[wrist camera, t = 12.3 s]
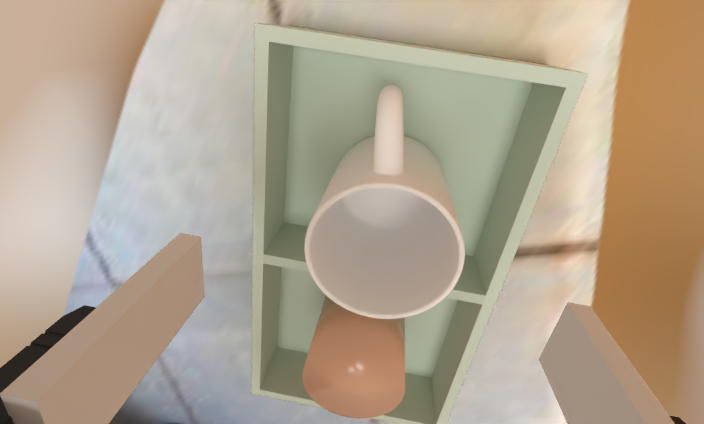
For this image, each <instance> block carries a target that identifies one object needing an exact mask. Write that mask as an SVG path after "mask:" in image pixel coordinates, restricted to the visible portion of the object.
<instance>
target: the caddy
mask: <svg viewBox="0 0 704 424" xmlns="http://www.w3.org/2000/svg"><path fill="white" fill-rule="evenodd" d="M587 76H588V74H587V73H583V72H578V71H573V70H569V69H564V68H559V67H555V66H550V65H544V64H538V63H531V62H524V61H518V60H511V59H505V58H498V57H491V56H485V55H478V54H472V53H465V52H458V51H452V50H445V49H438V48H432V47H425V46H419V45H412V44H405V43H399V42H392V41H386V40H379V39H372V38H366V37H359V36H352V35H346V34H339V33H333V32H326V31H319V30H313V29H306V28H300V27H293V26H286V25H273V24H259V23H255V48H254V156H253V264H252V372H251V394H256V395H260V396H265V397H270V398H275V399H280V400H284V401H289V402H294V403H299V404H304V405H308V406H313V407H318V408H323V407H321V406H320V405H319V404H317V403H316V402H315V401H314V400H313V399H312V398H311V397H310V396H309V394H308V393H307V391H306V389H305V387H304V385H303V380H302V373H303V369H304V365H305V362H306V359H307V355H308V352H309V349H310V345H311V342H312V338H313V335H314V332H315V328H316V325H317V322H318V318H319V315H320V312H321V308H322V305H323V302H324V298H325V296H326V295H325V294H324V293H323V292H322V291H321V289H320V288H319V287H318V286H317V284H316V283H315V281H314V280H313V278H312V276H311V274H310V272H309V269H308V266H307V263H306V259H305V252H304V245H305V237H306V232H307V229H308V226H309V224H310V222H311V220H312V218H313V216H314V213H315V211H316V209H317V207H318V205H319V203H320V201H321V199H322V197H323V195H324V193H325V191H326V189H327V187H328V185H329V183H330V181H331V179H332V177H333V175H334V173H335V171H336V169H337V167H338V165H339V163H340V161H341V160H342V158H343V157H344V156H345V154H346V153H347V152H348V151H349V150H350V149H351V148H352V147H354V146H355V145H356V144H358V143H359V142H361V141H363V140H365V139H367V138H369V137H372V136H375V124H376V112H377V104H378V98H379V94H380V92H381V90H382V89H383V88H384V87H386V86H388V85H395V86H397V87H399V88H400V89H401V91H402V94H403V122H404V136H407V137H409V138H412V139H414V140H416V141H418V142H420V143H421V144H423V145H424V146H425V147H427V148H428V149H429V150H430V151H431V152H432V153H433V155H434V156H435V157H436V159H437V160H438V162H439V164H440V166H441V168H442V170H443V173H444V176H445V179H446V182H447V186H448V189H449V192H450V196H451V199H452V202H453V206H454V209H455V213H456V216H457V219H458V223H459V226H460V229H461V233H462V236H463V241H464V246H465V259H464V266H463V269H462V273H461V275H460V277H459V280H458V282H457V283H456V285H455V286H454V288H453V289H452V291H451V292H450V293H449V294H448V295H447V296H446V297H445V298H444V299H443V300H442V301H441V302H439V303H438V304H436V305H435V306H434V307H432V308H430V309H428V310H426V311H424V312H422V313H419V314H416V315H413V316H409V317H405V394H404V397H403V399H402V401H401V402H400V404H399V405H398V406H397V407H396V408H394V409H393V410H392V411H390V412H388V413H386V414H384V415H381V416H378V417H373V418H371V419H376V420H380V421H385V422H390V423H395V424H446V423H447V421H448V418H449V416H450V414H451V411H452V409H453V406H454V404H455V401H456V399H457V396H458V394H459V391H460V389H461V386H462V384H463V381H464V379H465V377H466V374H467V372H468V369H469V367H470V364H471V362H472V359H473V357H474V354H475V352H476V349H477V347H478V345H479V342H480V340H481V337H482V335H483V332H484V330H485V327H486V325H487V322H488V320H489V317H490V315H491V312H492V310H493V308H494V305H495V303H496V300H497V298H498V295H499V293H500V290H501V288H502V285H503V283H504V280H505V278H506V275H507V273H508V271H509V268H510V266H511V263H512V261H513V258H514V256H515V253H516V251H517V248H518V246H519V243H520V241H521V238H522V236H523V234H524V231H525V229H526V226H527V224H528V221H529V219H530V216H531V214H532V211H533V209H534V206H535V204H536V202H537V199H538V197H539V194H540V192H541V189H542V187H543V184H544V182H545V179H546V177H547V174H548V172H549V169H550V167H551V165H552V162H553V160H554V157H555V155H556V152H557V150H558V147H559V145H560V142H561V140H562V137H563V135H564V132H565V130H566V128H567V125H568V123H569V120H570V118H571V115H572V113H573V110H574V108H575V105H576V103H577V100H578V98H579V96H580V93H581V91H582V88H583V86H584V83H585V81H586V78H587ZM323 409H325V408H323Z"/></svg>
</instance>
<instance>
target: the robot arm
mask: <svg viewBox="0 0 704 424" xmlns="http://www.w3.org/2000/svg"><path fill="white" fill-rule="evenodd" d="M203 298H204V283H203V266H202V249H201V237H199V236H194V235H188V234H182V233H180V234H179V235H178V236H177V237H175V238H174V239H173V240H172V241H171V242H170V243H169V244H168V245H166V246H165V247H164V248H163V249H162V250H161V251H160V252H159V253H157V254H156V255H155V256H154V257H153V258H152V259H151V260H150V261H148V262H147V263H146V264H145V265H144V266H143V267H142V268H141V269H139V270H138V271H137V272H136V273H135V274H134V275H133V276H132V277H130V278H129V279H128V280H127V281H126V282H125V283H124V284H123V285H121V286H120V287H119V288H118V289H117V290H116V291H115V292H114V293H112V294H111V295H110V296H109V297H108V298H107V299H106V300H105V301H103V302H102V303H101V304H100V305H99V306H98V307H97V308H95V307H90V306H82V307H80V308H79V309H77V310H75V311H73V312H71V313H69V314H67V315H65V316H63V317H62V318H60V319H59V320H58V321H57V322H55V324H53V325H52V326H51V327H50V328H48V329H47V330H46V332H45V333H44V334H41V335H40V336H39V337H37V338H36V339H35V340H34V341H32V342H31V345H30V346H26V347H25V348H24V349H23V350H22V351H20V352H19V353H18V354H17V355H16V356H14V357H13V358H12V359H11V360H9V361H8V362H7V363H6V364H5V365H3V366H2V367H1V368H0V424H109V423H110V421H111V420H112V419H113V417H114V416H115V415H116V413H117V412H118V411H119V409H120V408H121V407H122V405H123V404H124V403H125V401H126V400H127V399H128V397H129V396H130V395H131V393H132V392H133V391H134V389H135V388H136V387H137V385H138V384H139V383H140V381H141V380H142V379H143V377H144V376H145V375H146V373H147V372H148V371H149V369H150V368H151V367H152V365H153V364H154V363H155V361H156V360H157V359H158V357H159V356H160V355H161V353H162V352H163V351H164V350H165V348H166V347H167V346H168V344H169V343H170V342H171V340H172V339H173V338H174V336H175V335H176V334H177V332H178V331H179V330H180V328H181V327H182V326H183V324H184V323H185V322H186V320H187V319H188V318H189V316H190V315H191V314H192V312H193V311H194V310H195V308H196V307H197V306H198V304H199V303H200V302H201V300H202V299H203ZM539 360H540V362H541V365H542V367H543V369H544V372H545V374H546V376H547V378H548V381H549V383H550V385H551V387H552V390H553V392H554V394H555V396H556V399H557V401H558V403H559V405H560V408H561V410H562V412H563V414H564V417H565V419H566V421H567V423H568V424H686V423H685V422H683V421H682V420H681V419H680V418H679V417H674V416H669V415H668V413H667V412H666V411H665V409H664V408H663V407H662V405H661V404H660V402H659V401H658V400H657V398H656V397H655V395H654V394H653V393H652V392H651V390H650V389H649V387H648V386H647V385H646V383H645V382H644V380H643V379H642V377H641V376H640V375H639V373H638V372H637V371H636V369H635V368H634V366H633V365H632V364H631V362H630V361H629V359H628V358H627V357H626V356H625V354H624V353H623V351H622V350H621V348H620V347H619V346H618V344H617V343H616V341H615V340H614V339H613V337H612V336H611V335H610V333H609V332H608V330H607V329H606V328H605V326H604V325H603V323H602V322H601V321H600V319H599V318H598V317H597V315H596V314H595V312H594V311H593V310H592V308H591V307H590V306H585V305H579V304H574V303H567V305H566V307H565V309H564V311H563V313H562V315H561V317H560V319H559V321H558V323H557V325H556V327H555V329H554V331H553V333H552V334H551V336H550V338H549V340H548V342H547V344H546V346H545V348H544V350H543V352H542V354H541V356H540V358H539Z"/></svg>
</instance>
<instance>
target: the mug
mask: <svg viewBox="0 0 704 424" xmlns="http://www.w3.org/2000/svg"><path fill="white" fill-rule="evenodd" d="M304 252H305V259H306V263H307V266H308V269H309V272H310V274H311V276H312V278H313V280H314V281H315V283H316V284H317V286H318V287H319V288H320V289H321V291H322V292H323V293H324V294H325V295H326V296H327V297H328V298H330V299H331V300H332V301H334V302H335V303H336V304H338V305H340V306H341V307H343V308H345V309H347V310H349V311H351V312H354V313H356V314H359V315H363V316H367V317H371V318H378V319H398V318H404V317H409V316H413V315H416V314H419V313H422V312H424V311H426V310H428V309H430V308H432V307H434V306H435V305H436V304H438V303H439V302H441V301H442V300H443V299H444V298H445V297H446V296H447V295H448V294H449V293H450V292H451V291H452V289H453V288H454V286H455V285H456V283H457V282H458V280H459V277H460V275H461V273H462V269H463V266H464V259H465V246H464V241H463V236H462V233H461V229H460V226H459V223H458V219H457V216H456V213H455V209H454V206H453V202H452V199H451V196H450V192H449V189H448V186H447V182H446V179H445V176H444V173H443V170H442V168H441V166H440V164H439V162H438V160H437V159H436V157H435V156H434V155H433V153H432V152H431V151H430V150H429V149H428V148H427V147H425V146H424V145H423V144H421V143H420V142H418V141H416V140H414V139H412V138H409V137H407V136H404V122H403V94H402V91H401V89H400V88H399V87H397V86H395V85H388V86H386V87H384V88H383V89H382V90H381V92H380V94H379V98H378V104H377V112H376V124H375V136H372V137H369V138H367V139H365V140H363V141H361V142H359V143H358V144H356V145H355V146H354V147H352V148H351V149H350V150H349V151H348V152H347V153H346V154H345V156H344V157H343V158H342V160H341V161H340V163H339V165H338V167H337V169H336V171H335V173H334V175H333V177H332V179H331V181H330V183H329V185H328V187H327V189H326V191H325V193H324V195H323V197H322V199H321V201H320V203H319V205H318V207H317V209H316V211H315V213H314V216H313V218H312V220H311V222H310V224H309V226H308V229H307V232H306V237H305V245H304Z"/></svg>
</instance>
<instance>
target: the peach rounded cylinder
mask: <svg viewBox="0 0 704 424" xmlns="http://www.w3.org/2000/svg"><path fill="white" fill-rule="evenodd" d="M302 380H303V385H304V387H305V389H306V391H307V393H308V394H309V396H310V397H311V398H312V399H313V400H314V401H315V402H316V403H317V404H319V405H320V406H321V407H323V408H325V409H326V410H328V411H330V412H333V413H335V414H338V415H341V416H345V417H351V418H373V417H378V416H381V415H384V414H386V413H388V412H390V411H392V410H393V409H394V408H396V407H397V406H398V405H399V404H400V402H401V401H402V399H403V397H404V394H405V317H404V318H398V319H378V318H371V317H367V316H363V315H359V314H356V313H354V312H351V311H349V310H347V309H345V308H343V307H341V306H340V305H338V304H336V303H335V302H334V301H332V300H331V299H330V298H328V297H327V296H325V298H324V302H323V305H322V308H321V312H320V315H319V318H318V322H317V325H316V328H315V332H314V335H313V338H312V342H311V345H310V349H309V352H308V355H307V359H306V362H305V365H304V369H303V373H302Z"/></svg>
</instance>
